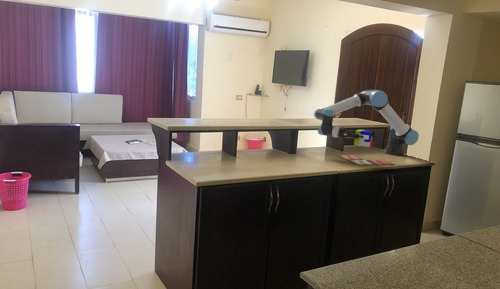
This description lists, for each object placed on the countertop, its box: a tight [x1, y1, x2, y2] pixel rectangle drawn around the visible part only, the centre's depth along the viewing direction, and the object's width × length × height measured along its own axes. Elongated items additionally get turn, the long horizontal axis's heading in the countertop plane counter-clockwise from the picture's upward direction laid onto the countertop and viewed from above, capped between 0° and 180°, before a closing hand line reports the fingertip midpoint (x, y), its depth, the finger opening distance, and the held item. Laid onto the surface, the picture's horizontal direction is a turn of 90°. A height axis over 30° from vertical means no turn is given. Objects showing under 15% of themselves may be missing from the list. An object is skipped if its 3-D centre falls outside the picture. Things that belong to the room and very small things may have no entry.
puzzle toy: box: [353, 129, 376, 148], centre depth 269 cm, size 10×10×10 cm
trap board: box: [336, 154, 395, 166], centre depth 281 cm, size 29×29×1 cm
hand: (370, 136), depth 267 cm, fingers closed on puzzle toy, 11 cm apart
